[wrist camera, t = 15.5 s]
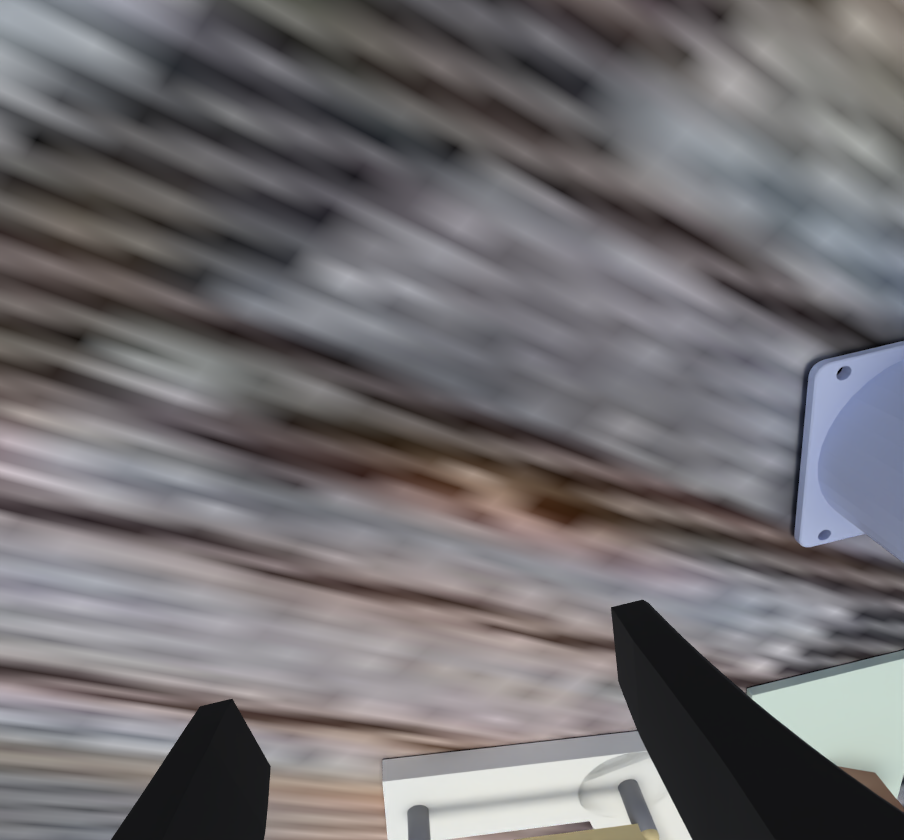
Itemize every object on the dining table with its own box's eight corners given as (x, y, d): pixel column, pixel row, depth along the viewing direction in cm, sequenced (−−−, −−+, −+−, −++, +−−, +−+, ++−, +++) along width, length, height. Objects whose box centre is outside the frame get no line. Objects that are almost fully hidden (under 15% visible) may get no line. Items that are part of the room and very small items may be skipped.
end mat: (928, 644, 26) (935, 650, 26) (875, 856, 34) (880, 863, 34) (746, 688, 26) (752, 695, 26) (736, 890, 34) (740, 898, 34)
